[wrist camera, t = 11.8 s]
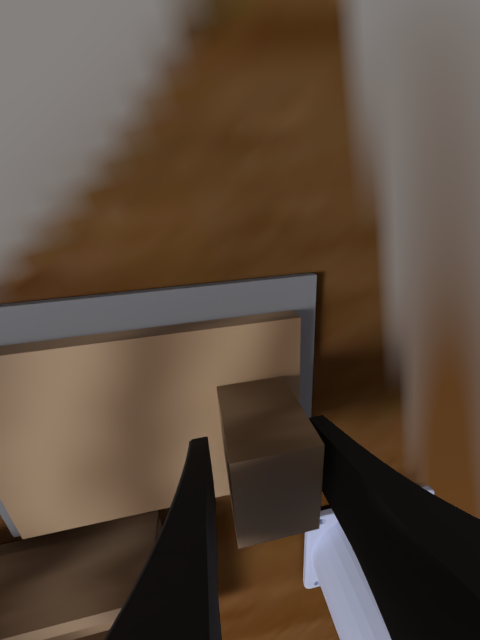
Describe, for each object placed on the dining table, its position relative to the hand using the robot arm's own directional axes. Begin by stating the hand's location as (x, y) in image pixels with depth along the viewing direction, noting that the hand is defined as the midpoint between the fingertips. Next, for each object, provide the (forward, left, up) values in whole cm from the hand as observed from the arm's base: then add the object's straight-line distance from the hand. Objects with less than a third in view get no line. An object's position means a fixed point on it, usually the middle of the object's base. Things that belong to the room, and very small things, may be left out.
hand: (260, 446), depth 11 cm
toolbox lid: (+4, 0, -3) cm, 5 cm away
